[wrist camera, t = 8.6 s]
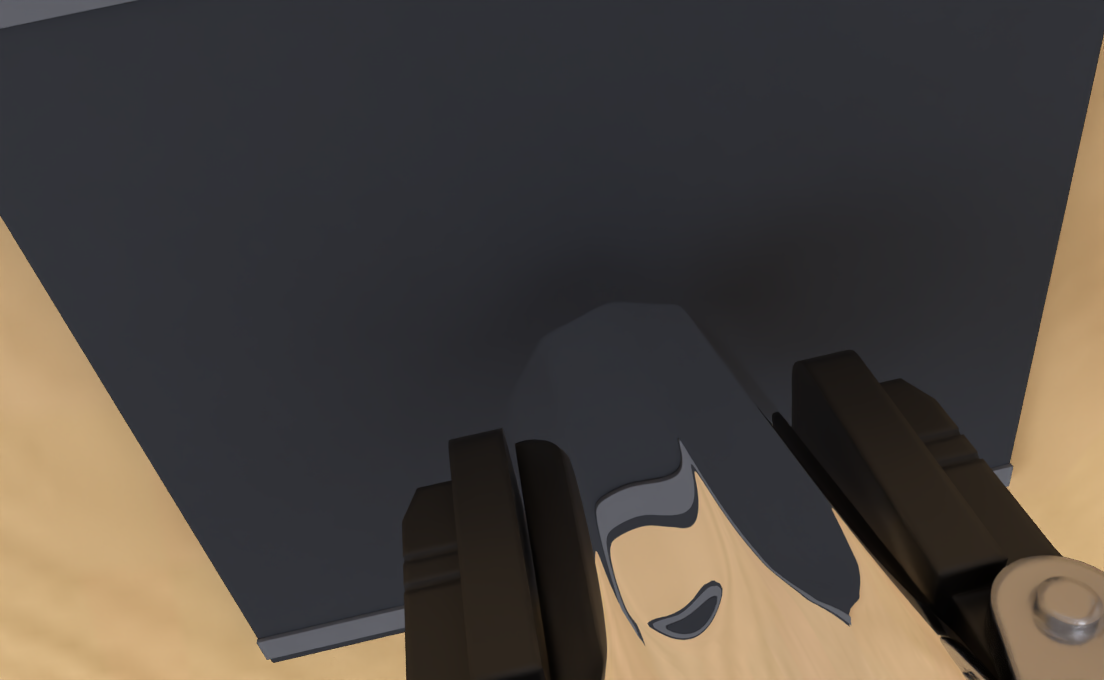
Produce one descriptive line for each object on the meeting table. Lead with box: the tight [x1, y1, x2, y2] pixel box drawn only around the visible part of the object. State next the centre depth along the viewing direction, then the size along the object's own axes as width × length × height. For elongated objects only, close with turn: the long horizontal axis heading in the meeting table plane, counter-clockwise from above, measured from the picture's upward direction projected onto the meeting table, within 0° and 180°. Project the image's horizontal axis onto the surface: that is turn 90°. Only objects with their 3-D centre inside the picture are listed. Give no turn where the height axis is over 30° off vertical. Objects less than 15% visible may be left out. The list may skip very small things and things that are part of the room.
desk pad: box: [0, 0, 1104, 663], centre depth 15 cm, size 16×14×1 cm
